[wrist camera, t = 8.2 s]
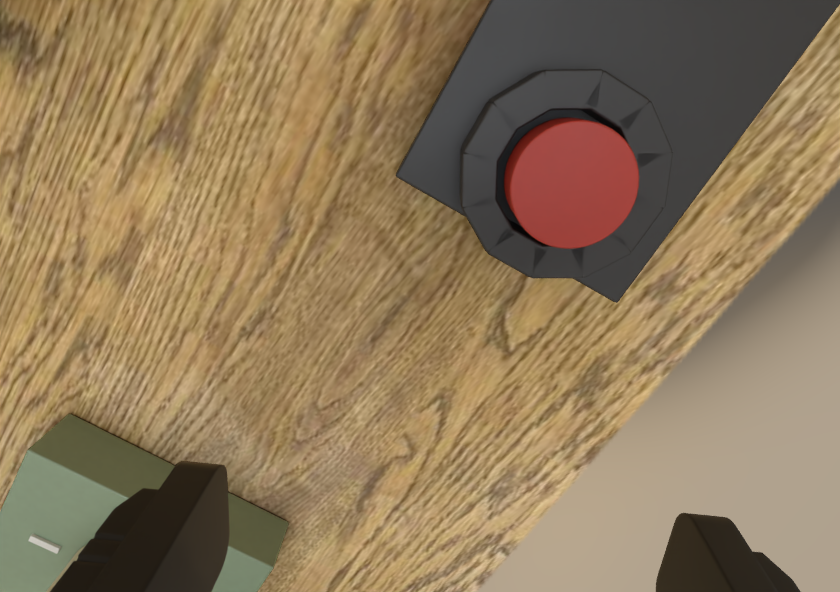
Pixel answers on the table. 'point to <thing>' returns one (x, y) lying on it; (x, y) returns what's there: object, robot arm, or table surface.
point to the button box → (605, 110)
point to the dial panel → (105, 509)
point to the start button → (571, 182)
